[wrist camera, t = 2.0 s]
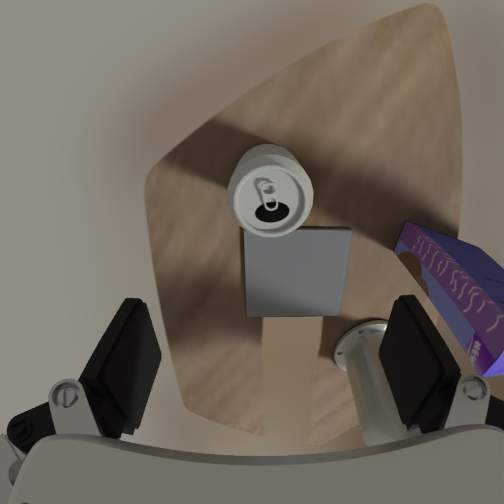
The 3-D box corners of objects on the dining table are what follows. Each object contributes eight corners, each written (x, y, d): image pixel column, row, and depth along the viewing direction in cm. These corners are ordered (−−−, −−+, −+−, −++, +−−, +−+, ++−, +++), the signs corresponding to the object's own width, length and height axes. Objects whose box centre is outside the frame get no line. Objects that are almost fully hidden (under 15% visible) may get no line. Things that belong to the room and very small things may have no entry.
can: (241, 207, 36) (232, 250, 25) (231, 147, 32) (216, 164, 22) (301, 199, 35) (319, 240, 24) (295, 139, 32) (313, 152, 21)
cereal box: (392, 251, 38) (481, 379, 16) (405, 220, 36) (513, 337, 14) (468, 272, 39) (546, 368, 18) (479, 247, 37) (567, 337, 15)
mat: (351, 228, 36) (352, 230, 36) (337, 313, 43) (338, 315, 42) (244, 227, 37) (243, 229, 36) (246, 314, 43) (246, 317, 43)
